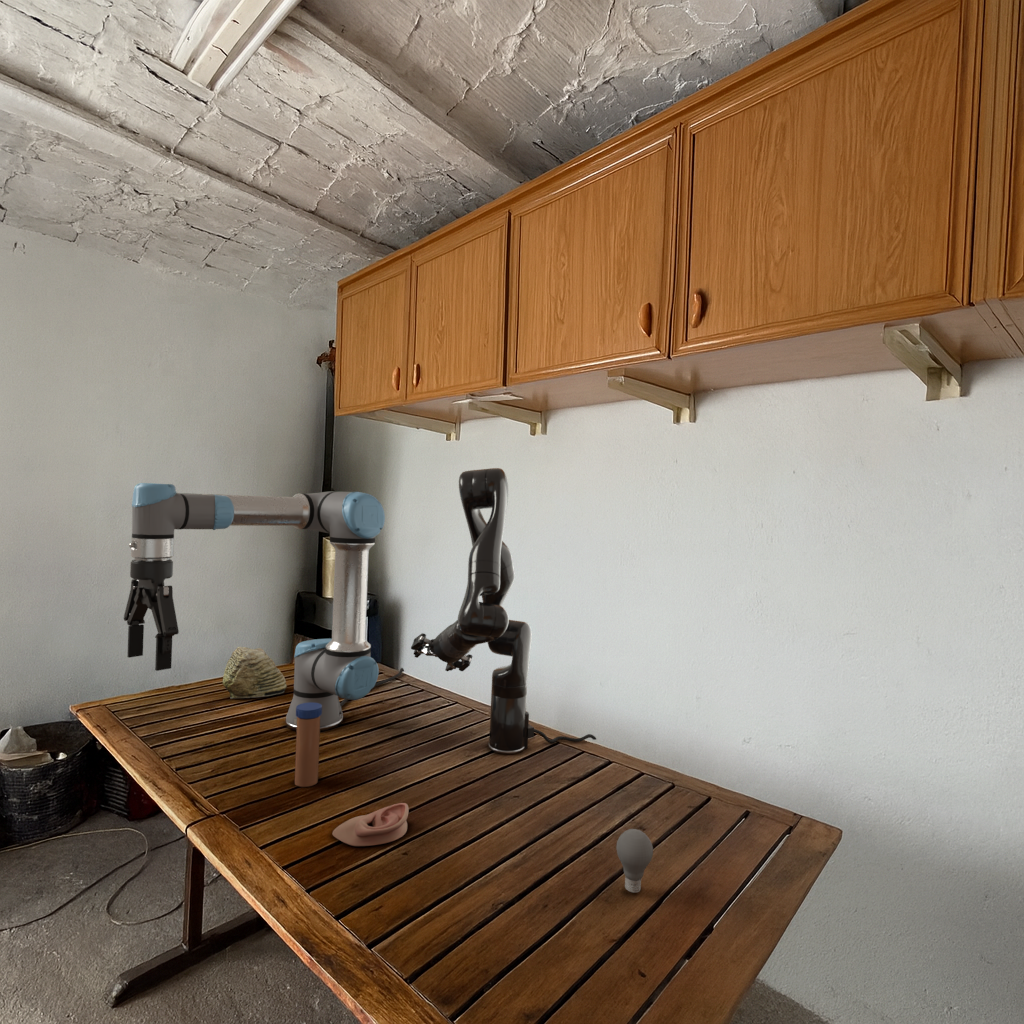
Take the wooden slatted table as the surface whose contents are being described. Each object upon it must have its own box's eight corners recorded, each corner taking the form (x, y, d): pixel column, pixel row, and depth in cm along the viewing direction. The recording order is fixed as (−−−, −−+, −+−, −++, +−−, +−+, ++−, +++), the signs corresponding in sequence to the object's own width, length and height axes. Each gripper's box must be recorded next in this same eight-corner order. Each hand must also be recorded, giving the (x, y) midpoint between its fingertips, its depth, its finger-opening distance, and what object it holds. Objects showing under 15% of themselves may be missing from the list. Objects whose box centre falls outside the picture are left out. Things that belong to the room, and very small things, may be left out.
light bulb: (610, 879, 108) (613, 822, 108) (644, 879, 109) (647, 822, 109) (619, 902, 102) (622, 840, 102) (655, 901, 103) (658, 840, 103)
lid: (325, 711, 143) (325, 703, 143) (316, 719, 137) (317, 711, 137) (301, 710, 143) (301, 701, 143) (292, 718, 137) (292, 709, 137)
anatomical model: (325, 820, 116) (352, 792, 127) (324, 841, 116) (352, 812, 128) (392, 830, 114) (415, 801, 125) (392, 852, 114) (414, 821, 125)
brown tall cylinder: (320, 777, 143) (323, 705, 142) (313, 787, 138) (316, 712, 138) (299, 776, 143) (302, 704, 143) (291, 786, 138) (293, 711, 138)
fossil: (218, 695, 195) (220, 647, 195) (278, 685, 208) (279, 640, 207) (228, 703, 189) (230, 653, 188) (289, 692, 201) (290, 645, 201)
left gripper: (108, 554, 134) (104, 654, 134) (159, 565, 118) (155, 678, 119) (146, 552, 140) (143, 648, 140) (199, 563, 124) (195, 671, 124)
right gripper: (486, 640, 150) (461, 658, 162) (432, 615, 146) (411, 635, 159) (477, 669, 145) (452, 685, 158) (421, 644, 142) (401, 662, 155)
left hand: (148, 662), depth 129 cm, fingers open, 13 cm apart
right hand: (432, 660), depth 159 cm, fingers open, 8 cm apart
